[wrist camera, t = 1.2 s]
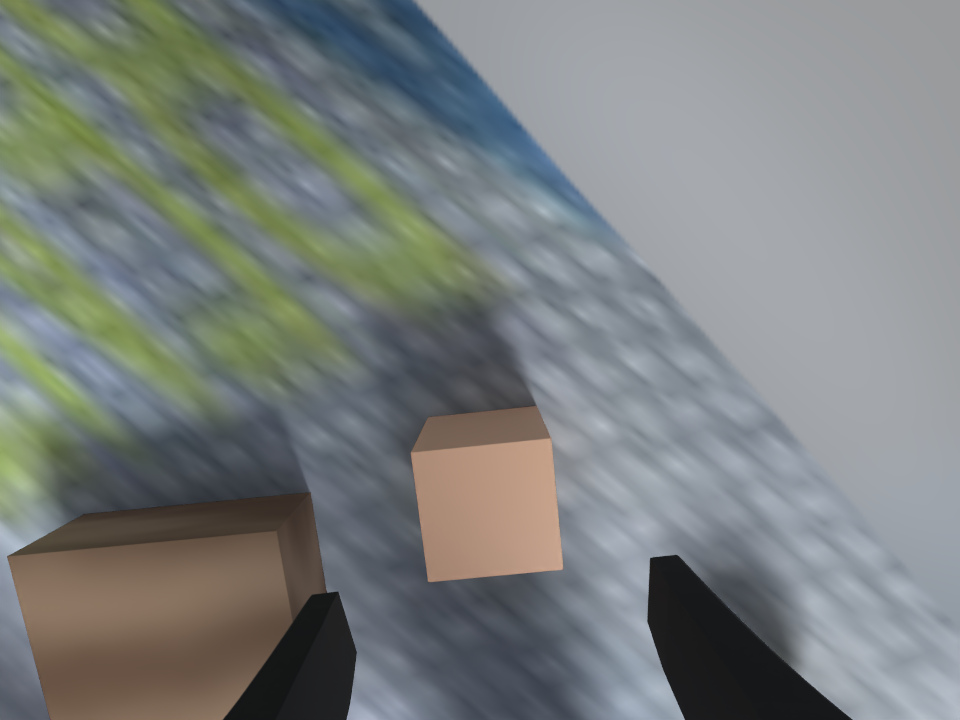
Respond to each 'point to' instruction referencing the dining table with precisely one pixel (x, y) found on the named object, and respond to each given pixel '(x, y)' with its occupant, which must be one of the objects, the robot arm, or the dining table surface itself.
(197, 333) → the dining table surface
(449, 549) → the cube
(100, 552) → the base block
